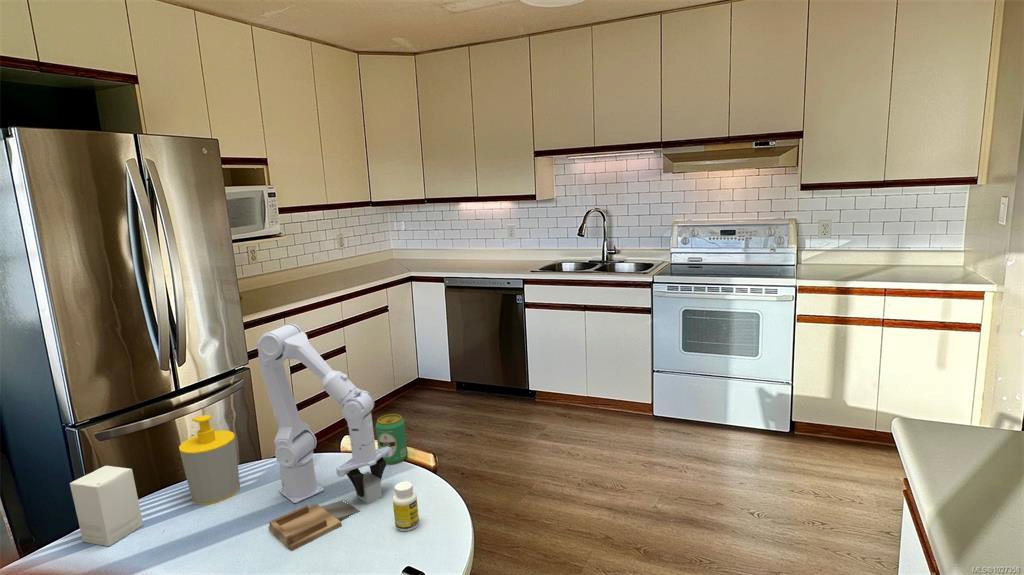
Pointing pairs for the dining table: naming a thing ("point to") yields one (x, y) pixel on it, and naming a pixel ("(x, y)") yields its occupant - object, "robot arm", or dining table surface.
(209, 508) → the dining table surface
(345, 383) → the robot arm
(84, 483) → the supplement box
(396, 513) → the supplement bottle
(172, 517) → the dining table surface
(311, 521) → the dock
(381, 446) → the beverage can
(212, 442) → the soap bottle
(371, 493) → the grey lidded box
